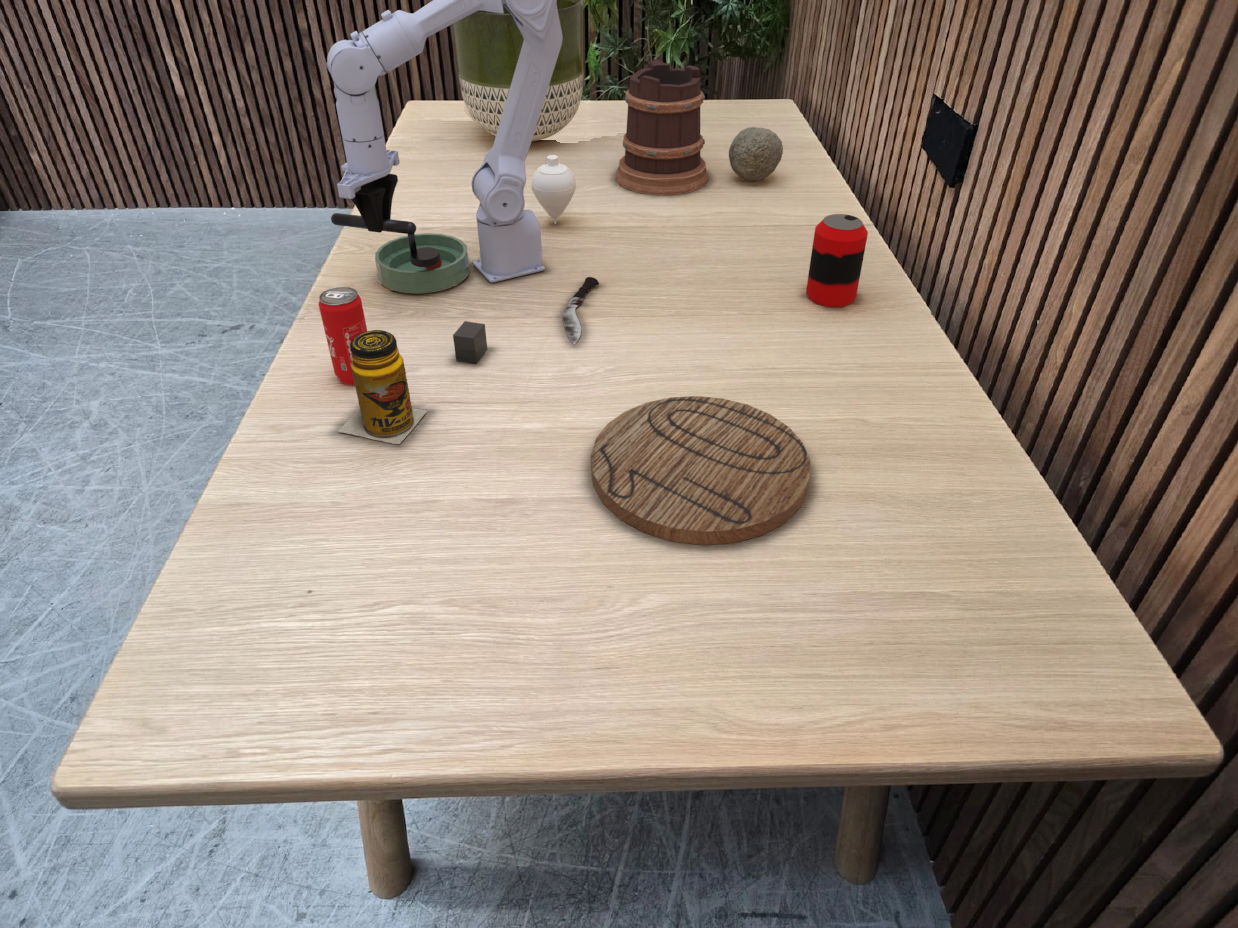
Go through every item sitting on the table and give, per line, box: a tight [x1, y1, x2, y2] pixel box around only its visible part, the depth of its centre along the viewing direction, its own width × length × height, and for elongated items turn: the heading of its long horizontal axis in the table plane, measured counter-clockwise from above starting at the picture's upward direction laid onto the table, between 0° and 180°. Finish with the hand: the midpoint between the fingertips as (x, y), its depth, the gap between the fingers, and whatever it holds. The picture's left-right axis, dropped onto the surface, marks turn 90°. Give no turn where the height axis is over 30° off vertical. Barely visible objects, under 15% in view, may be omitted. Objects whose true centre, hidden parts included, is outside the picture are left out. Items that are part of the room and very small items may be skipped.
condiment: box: [337, 329, 428, 445], centre depth 106 cm, size 7×8×12 cm
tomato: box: [425, 257, 442, 270], centre depth 141 cm, size 3×3×3 cm
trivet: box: [590, 395, 811, 546], centre depth 102 cm, size 25×25×2 cm
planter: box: [451, 0, 585, 142], centre depth 186 cm, size 27×27×27 cm
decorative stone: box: [728, 126, 784, 183], centre depth 171 cm, size 10×8×10 cm
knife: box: [561, 276, 600, 346], centre depth 132 cm, size 18×1×5 cm
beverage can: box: [318, 286, 368, 386], centre depth 115 cm, size 5×5×12 cm
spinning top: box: [530, 154, 577, 225], centre depth 154 cm, size 8×8×12 cm
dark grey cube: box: [452, 320, 488, 365], centre depth 121 cm, size 3×4×4 cm
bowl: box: [374, 232, 471, 294], centre depth 140 cm, size 14×14×4 cm
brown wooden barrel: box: [615, 59, 710, 196], centre depth 170 cm, size 18×23×20 cm
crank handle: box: [330, 212, 440, 267], centre depth 133 cm, size 17×4×6 cm, turn 75°
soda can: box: [805, 213, 869, 308], centre depth 132 cm, size 8×8×12 cm
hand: (379, 228), depth 133 cm, fingers closed on crank handle, 2 cm apart
